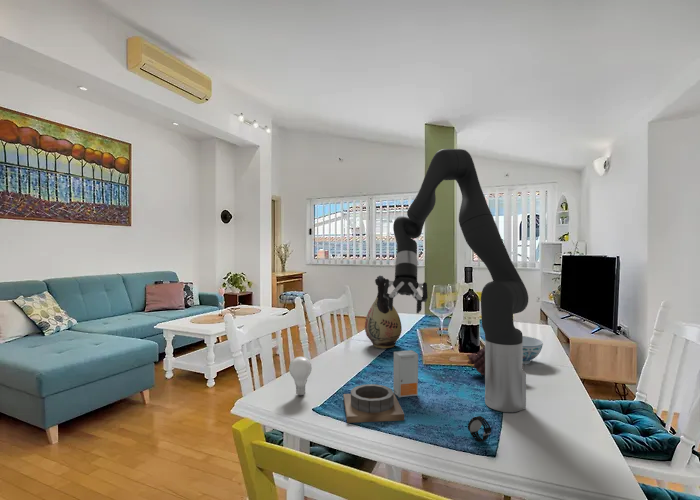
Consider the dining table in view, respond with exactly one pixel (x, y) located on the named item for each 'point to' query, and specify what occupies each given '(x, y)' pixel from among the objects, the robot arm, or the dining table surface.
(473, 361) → the pine cone
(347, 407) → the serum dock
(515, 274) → the robot arm
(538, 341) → the chinaware
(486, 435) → the smartwatch
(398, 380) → the skincare box
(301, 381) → the lightbulb
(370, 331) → the ceramic jug
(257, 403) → the dining table surface
